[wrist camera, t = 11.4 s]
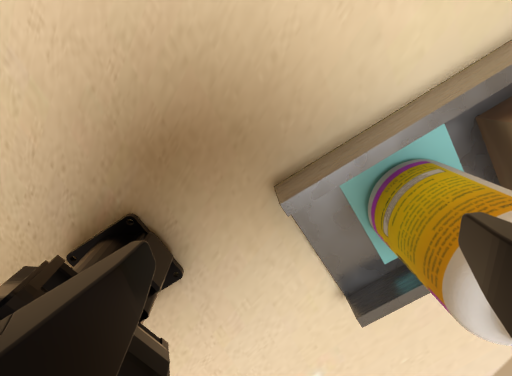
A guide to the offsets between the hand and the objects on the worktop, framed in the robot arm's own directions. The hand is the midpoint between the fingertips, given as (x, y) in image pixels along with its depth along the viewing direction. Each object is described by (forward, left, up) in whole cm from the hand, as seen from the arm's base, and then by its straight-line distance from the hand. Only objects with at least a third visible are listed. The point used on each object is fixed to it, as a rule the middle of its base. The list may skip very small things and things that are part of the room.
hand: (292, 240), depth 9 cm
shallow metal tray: (+10, -9, -13) cm, 19 cm away
